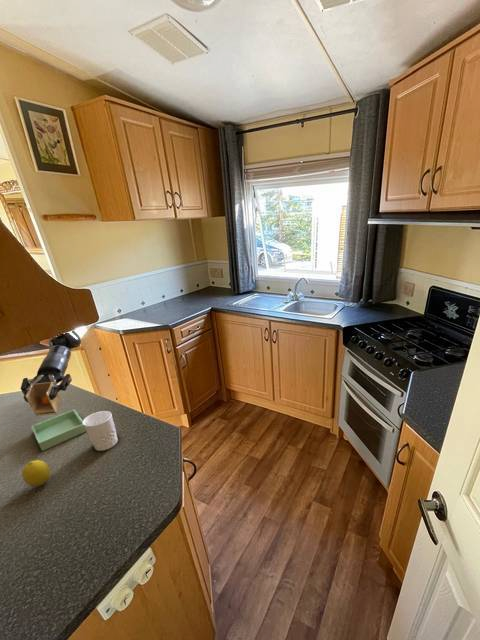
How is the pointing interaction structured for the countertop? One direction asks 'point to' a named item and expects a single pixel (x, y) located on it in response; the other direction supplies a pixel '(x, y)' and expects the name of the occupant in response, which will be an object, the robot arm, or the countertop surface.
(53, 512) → the countertop surface
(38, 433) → the tray
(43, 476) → the lemon
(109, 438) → the white cup
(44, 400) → the ball
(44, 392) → the open wooden box
